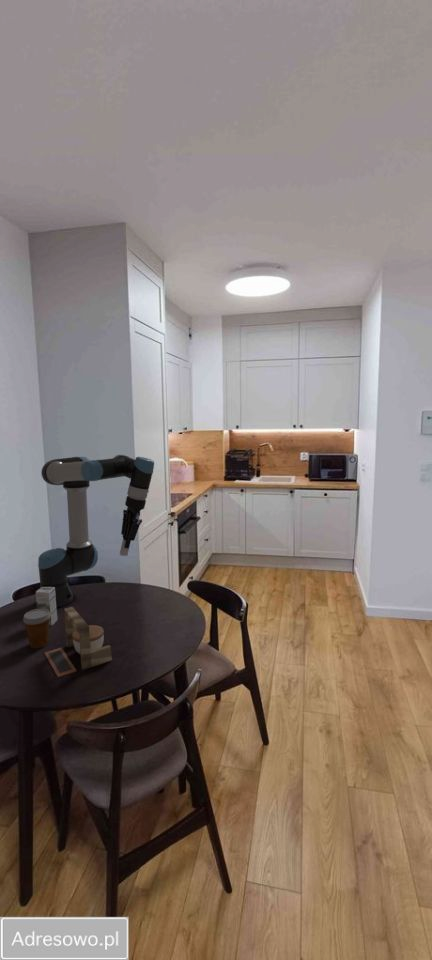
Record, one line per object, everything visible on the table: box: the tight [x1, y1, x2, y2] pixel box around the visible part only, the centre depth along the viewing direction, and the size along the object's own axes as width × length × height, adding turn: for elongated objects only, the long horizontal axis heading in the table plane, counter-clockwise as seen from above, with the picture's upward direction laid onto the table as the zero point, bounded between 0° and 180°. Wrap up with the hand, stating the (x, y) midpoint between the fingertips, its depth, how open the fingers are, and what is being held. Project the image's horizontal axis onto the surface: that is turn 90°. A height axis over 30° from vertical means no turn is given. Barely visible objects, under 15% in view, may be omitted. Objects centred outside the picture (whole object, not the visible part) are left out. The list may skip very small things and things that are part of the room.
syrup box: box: [35, 587, 58, 627], centre depth 183 cm, size 6×6×14 cm
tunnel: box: [63, 606, 113, 671], centre depth 159 cm, size 19×10×14 cm, turn 34°
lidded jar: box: [72, 624, 105, 655], centre depth 160 cm, size 11×11×9 cm
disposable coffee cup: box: [22, 608, 51, 649], centre depth 166 cm, size 10×10×12 cm
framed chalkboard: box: [44, 647, 77, 678], centre depth 155 cm, size 18×6×1 cm, turn 34°
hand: (123, 554), depth 177 cm, fingers closed
